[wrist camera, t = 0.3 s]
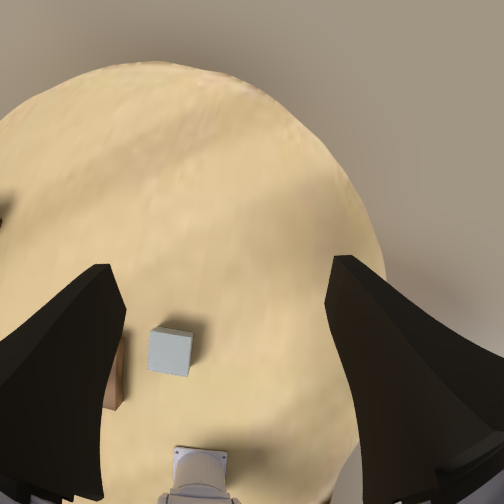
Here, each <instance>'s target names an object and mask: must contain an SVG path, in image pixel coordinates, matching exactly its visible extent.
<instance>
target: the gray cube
mask: <svg viewBox="0 0 504 504" xmlns="http://www.w3.org/2000/svg"><path fill="white" fill-rule="evenodd" d="M193 333H194V332H188V331H182V330H175V329H169V328H163V327H156V328H154V329H152V330H151V331H150V339H149V351H148V364H147V370H149V371H154V372H160V373H165V374H171V375H177V376H184V377H188V373H189V369H190V362H191V352H192V342H193Z"/></svg>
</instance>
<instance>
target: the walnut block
mask: <svg viewBox="0 0 504 504" xmlns="http://www.w3.org/2000/svg"><path fill="white" fill-rule="evenodd" d="M124 346H125V338H124V337H121V339H120V342H119V346H118V349H117V352H116V355H115V359H114V362H113V365H112V369H111V372H110V376H109V379H108V383H107V386H106V390H105V395H104V400H103V408H107V409H111V410H114V411H116V410H117V408H118V407H119V406H120V405H121V403H122V402H123V364H124Z"/></svg>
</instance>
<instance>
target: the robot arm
mask: <svg viewBox="0 0 504 504" xmlns="http://www.w3.org/2000/svg"><path fill="white" fill-rule="evenodd" d="M324 305H325V309H326V314H327V319H328V323H329V327H330V331H331V334H332V337H333V340H334V343H335V345H336V348H337V351H338V354H339V357H340V360H341V362H342V365H343V368H344V371H345V374H346V377H347V380H348V383H349V386H350V390H351V393H352V397H353V402H354V407H355V413H356V418H357V424H358V431H359V438H360V446H361V456H362V471H363V504H394V503H397V502H399V501H401V502H402V504H504V358H503V357H500V356H498V355H496V354H494V353H492V352H490V351H488V350H486V349H484V348H482V347H480V346H478V345H476V344H474V343H473V342H471V341H469V340H467V339H466V338H464V337H462V336H460V335H459V334H457V333H456V332H454V331H452V330H451V329H449V328H448V327H446V326H445V325H443V324H442V323H440V322H439V321H437V320H435V319H434V318H433V317H431V316H430V315H428V314H427V313H426V312H424V311H423V310H422V309H420V308H419V307H418V306H416V305H415V304H414V303H412V302H411V301H410V300H408V299H407V298H406V297H404V296H403V295H402V294H401V293H399V292H398V291H397V290H396V289H394V288H393V287H392V286H391V285H390V284H388V283H387V282H386V281H385V280H383V279H382V278H381V277H380V276H378V275H377V274H376V273H375V272H374V271H372V270H371V269H370V268H369V267H367V266H366V265H365V264H363V263H362V262H361V261H359V260H358V259H357V258H355V257H354V256H352V255H340V256H334V259H333V264H332V269H331V274H330V279H329V284H328V289H327V293H326V298H325V302H324ZM126 310H127V309H126V307H125V304H124V302H123V299H122V297H121V294H120V291H119V289H118V286H117V283H116V280H115V278H114V275H113V272H112V269H111V266H110V264H94V265H93V266H91V267H90V268H88V269H87V270H86V271H84V272H83V273H82V274H80V275H79V276H78V277H77V278H76V279H74V280H73V281H72V282H71V283H70V284H68V285H67V286H66V287H65V288H64V289H63V290H61V291H60V292H59V293H58V294H57V295H56V296H55V297H53V298H52V299H51V300H50V301H49V302H48V303H47V304H45V305H44V306H43V307H42V308H41V309H40V310H38V311H37V312H36V313H35V314H34V315H33V316H32V317H30V318H29V319H28V320H27V321H26V322H25V323H23V324H22V325H21V326H20V327H18V328H17V329H16V330H15V331H13V332H12V333H11V334H9V335H8V336H7V337H5V338H4V339H3V340H1V341H0V504H62V499H65V500H67V501H69V502H73V500H74V495H77V496H80V497H83V498H86V499H90V500H93V501H100V500H102V499H103V498H104V493H103V486H102V478H101V469H100V427H101V416H102V407H103V400H104V395H105V390H106V386H107V383H108V379H109V376H110V372H111V369H112V365H113V362H114V359H115V355H116V352H117V349H118V346H119V342H120V339H121V336H122V331H123V326H124V321H125V315H126ZM176 451H178V453H177V452H176ZM223 456H225V457H223ZM227 456H228V455H227V452H224V451H211V450H201V449H192V448H184V447H174V471H173V488H171V489H170V495H169V494H168V493H163V494H162V495H161V496H159V498H158V503H157V504H242V503H241V502H240V501H238V499H237V498H232V499H230V494H229V493H227V492H226V486H225V472H226V464H227Z"/></svg>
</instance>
